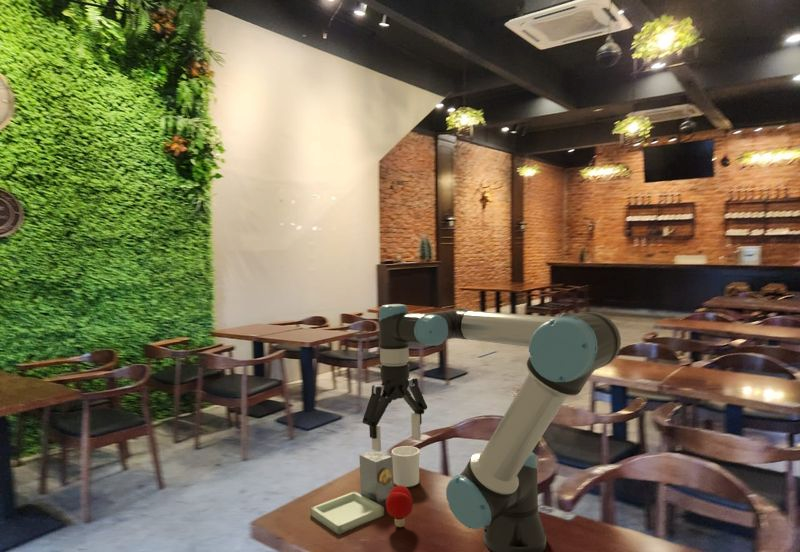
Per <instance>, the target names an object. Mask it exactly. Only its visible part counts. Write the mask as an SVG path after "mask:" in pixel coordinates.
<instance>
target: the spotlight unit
mask: <svg viewBox="0 0 800 552" xmlns="http://www.w3.org/2000/svg"><path fill="white" fill-rule="evenodd" d="M359 478H360V481H359V482H360V483H359V484H360V493H359V492H358V493H359V494H361V495H362V496H364V497H366V498H368V499H370V500H372V501H373V502H375V503H377V504H379V505H381V506H382V507H384V508H385V507H386V500H387V497H388V495H389V493H390V492H391V490H392V489H393V488H394V476H393V459H392V455H389V454H387V453H384V452H382V451H380V452H378V451H375V450H373V449H372V450H370V451H367V452H363V453H361V454H359Z"/></svg>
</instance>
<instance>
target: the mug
mask: <svg viewBox="0 0 800 552" xmlns="http://www.w3.org/2000/svg"><path fill="white" fill-rule="evenodd" d="M420 452H421V451H420V449H419V448H418V447H416V446H410V445H402V446H397V447H394V448H392V449H391V456H392V471H393V485H394V486H395V487H396V486H405V487H406V488H407V489H413V488H415V487H417V486H419V484H420Z"/></svg>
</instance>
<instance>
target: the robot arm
mask: <svg viewBox="0 0 800 552" xmlns="http://www.w3.org/2000/svg"><path fill="white" fill-rule="evenodd" d="M378 311H379V312H378V328H379V329H378V330H379V357H380V359H379V360H380V363H381V365H380V378H381V385H375V384H373V385H371V394H370V397H369V401H368V403H367V406H366V410H365V412H364V415H363V417H362V424H363V425H367V426H369V427H368V428H369V438H370V439H371V449H372V451H373V450H375V451H378V452H382V443H381V440H382V439H381V425H379V422H380V420H381V419H382V417H383V415H384V414H385V411H386V410H387V408H388V406H389V405H390V404H391V402H393V401H396V400H398V399H403V400H404V401H405V402H406V404H407V405H408V406H409V407H410V408H411V409H412V411H413V412H411V413H410V415H411V417H410V418H411V420H410V421H411V437H413V438H415V439H421V425H422V422H423V421H422V419H423V418H422V415H424V414H425V411H426V410H427V409H428V405H427V402H426V401H425V398H424V396H423V394H422V391H421V390H420V387H419V380H418V378H416V377H412V376H410V364H409V362H410V351H409V350H410V349H409V344H416V345H423V346H428V347H429V346H430V347H431V346H439V345H440V346H441V345H442V344H443V343H444V342H445V341H447V340H451V339H459V340H467V341H468V340H469V341H475V342H476V341H477V342H478V341H479V342H485V343H494V344H501V345H502V344H504V345H511V346H517V347H524V348H525V347H527V348H528V353H529V356H528V358H527V361H526V369H527V371H528V374H527V376H526V378H525V379H524V380H523V382H522V384H521V386H520V388H519V390H518V392H517V393H516V394H515V396H514V398H513V400H512V401H511V403H510V404H509V407H508V408H507V410H506V412H505V413H504V415H503V417H502V418H501V420H500V422H499V423H498V426H497V427H496V429H495V430H494V432H493V434H492V435H491V437H490V439H489V441H488V442H487V444H486V446H485V447H484V449H483V450H481V451H477V452H474V453H473V455H471V456H470V457H471V458H470V459H469V461H468V462H467V464H466V466H465V468H464V469H463V471H462V472H461V473H460V474H458V475H455V476H453V477H452V479H450V480H449V481H448V483H447V485H446V489H445V491H446V492H445V493H446V494H445V496H446V500H447V502H448V503H447V504H448V507H449V510H450V511H451V513H452V515H453V517H455V519H456V520H457V521H458V522H459V523H460V524H462V526H464V527H466V528H468V529H472V530H480V529H482V528H483V531H482V532H483V543H484V545H485V547H487V549H489V551H491V552H544V551H545V549H546V547H547V534H546V532H545V528H544V527H543V524H542V520H541V516H540V514H539V509H538V508H539V507H538V506H539V503H538V502H539V501H538V499H539V497H538V494H539V493H538V465H537V456H536V454H535V453H534V452H533V451H534V449H535V448H536V447H537V445H538V443H539V442H540V440H541V439H542V437H543V436H544V433H546V431H547V429H548V427H549V426H550V425H551V422H552V421H553V420H554V418H555V417H556V415H557V413H558V412H559V410H560V408H561V407H562V406H563V404H564V402H566V400H567V398H568V397H577V396H579V394H580V393H581V391H582V390H583V389H584V387H585V385H586V384H587V382H589V381H588V380H589V379H590V378H591V376H592V375H593V373H594V372H595V371H596V370H598V369H601V368H604V367H605V366H607V365H609V364H611V363H612V362H614V360H615V359H616V357H617V356H618V355H619V353H620V350H621V346H622V345H621V344H622V339H621V333H620V330H619V329H618V327H617V325H616V324H615V323H614V322H613V320H611V319H610V318H609V317H607V316H606V315H604V314H602V313H599V312H594V311H590V312H589V311H588V312H580V313H577V312H576V313H574V312H573V313H571V312H563V313H561V314H560V315H559V316H549V315H548V316H547V315H534V314H522V313H520V314H519V313H505V312H492V311H491V312H490V311H479V310H478V311H476V310H469V309H467V308H454V309H448V310H444V311H443V310H442V311H435V312H426V313H425V312H424V313H410V312H409V311H408V305H406V304H401V303H392V304H383V305H381V306H380V307H379V310H378ZM408 388H409V389H410V391H411V392H410V391H409V390H408Z"/></svg>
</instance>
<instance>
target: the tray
mask: <svg viewBox="0 0 800 552" xmlns="http://www.w3.org/2000/svg"><path fill="white" fill-rule="evenodd" d="M384 515H385V506H384V507H382V506H381V505H379V504H377V503H375V502H373V501H372V500H370V499H368V498H366V497H364V496H362V495H361V494H359V492H357V491H355V490H354V491H351V492H349V493H346V494H344V495H341V496H339V497H336V498H333V499H330V500H327V501H325V502H322V503H320V504H317V505H315V506H312V507H310V516H311V517H312V518H314V519H315V520H317V521H318V522H319V523H321V524H322V525H324V526H325V527H327V528H328V529H330V530H331V531H332V532H334V533H336V534H337V535H341V534H343V533H346V532H348V531H350V530H353V529H354V528H355V529H356V528H357V527H360V526H362V525H365V524H367V523H369V522H372V521H374V520H376V519H378V518H381V517H383V516H384Z"/></svg>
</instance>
